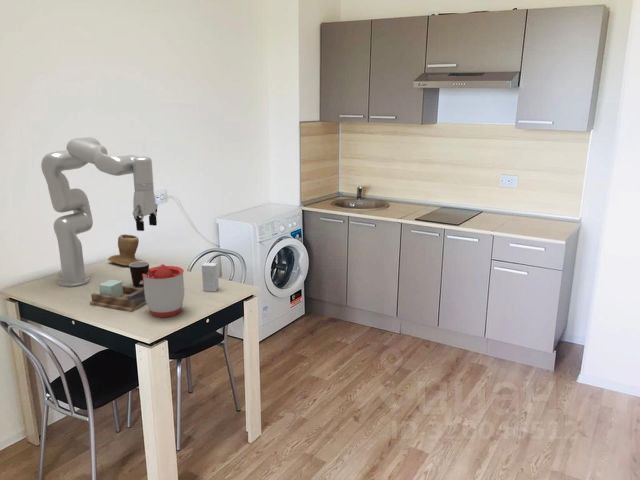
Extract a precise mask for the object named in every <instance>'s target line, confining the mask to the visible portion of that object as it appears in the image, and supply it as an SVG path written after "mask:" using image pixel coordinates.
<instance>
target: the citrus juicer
mask: <svg viewBox="0 0 640 480" xmlns="http://www.w3.org/2000/svg"><path fill="white" fill-rule="evenodd" d="M148 272H149V276H147V275H146V274H142V277H143V281H141V282H140V284H143V286H144V287H143V288H144V292H145V299H146V303H147V304H146V306H147V309H148V311H149V313H150V314H151V316H155V317H163V318H164V317H173V316H174V315H177V314H179V313H180V312H181V310H182V308H183V305H184V304H183V303H184V298H185V286H184V285H185V284H184V269H183V268H182V267H179V266H176V265H175V266H174V265H165V264H161V265H158V266H154V267H149V269H148Z"/></svg>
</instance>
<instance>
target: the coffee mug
mask: <svg viewBox="0 0 640 480" xmlns="http://www.w3.org/2000/svg"><path fill="white" fill-rule="evenodd" d="M138 261H139V260H138ZM148 269H150V262H148V261H143V260H142V261H141V260H140V261H139V262H133V263H130V264H129V271H130V272H129V273H130V276H131V280H132V287H136V288H144V286H143V284H140V282H141V281H143V277H142V274H146V275H147V276H148V277H149V272H148Z"/></svg>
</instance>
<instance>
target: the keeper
mask: <svg viewBox="0 0 640 480" xmlns="http://www.w3.org/2000/svg"><path fill="white" fill-rule="evenodd" d="M98 286H99V289H98V290H99V294H102V295H109V296H115V297H120V296H122V295H123V286H124V285H123V280H117V279H108V280H107V281H105V282H102V283H100V284H99V285H98Z"/></svg>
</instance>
